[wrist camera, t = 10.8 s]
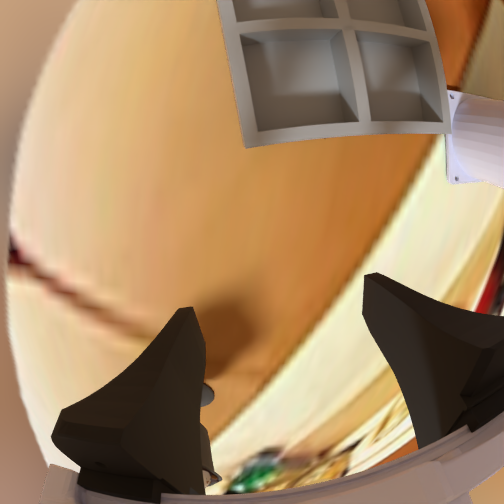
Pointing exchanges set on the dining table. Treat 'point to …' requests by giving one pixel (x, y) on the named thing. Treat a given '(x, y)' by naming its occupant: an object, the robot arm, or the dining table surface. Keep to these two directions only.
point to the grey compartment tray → (333, 69)
